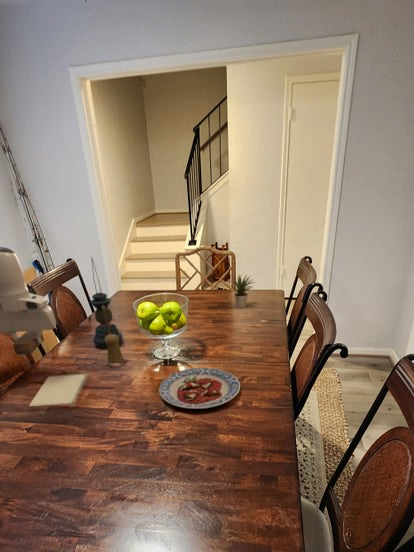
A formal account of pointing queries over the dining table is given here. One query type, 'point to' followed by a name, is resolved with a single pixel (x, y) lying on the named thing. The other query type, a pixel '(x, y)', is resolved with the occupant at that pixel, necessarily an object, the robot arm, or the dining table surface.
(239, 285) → the house plant
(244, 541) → the dining table surface
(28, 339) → the eraser
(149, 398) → the dining table surface
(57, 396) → the board
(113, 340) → the cork
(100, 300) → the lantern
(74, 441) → the dining table surface
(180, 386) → the ceramic plate
